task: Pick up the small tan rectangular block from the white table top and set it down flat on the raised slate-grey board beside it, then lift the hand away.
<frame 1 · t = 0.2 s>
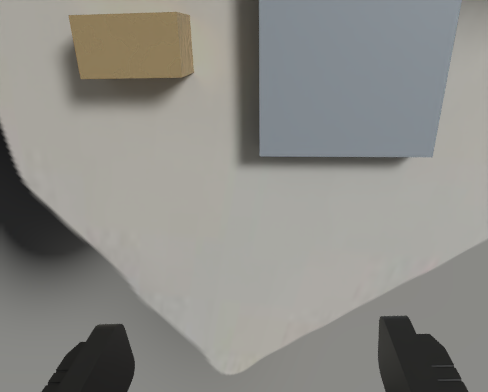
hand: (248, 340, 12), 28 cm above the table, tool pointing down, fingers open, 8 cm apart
tan rectangular block: (145, 45, 35), on the table
slate board: (346, 64, 34), on the table
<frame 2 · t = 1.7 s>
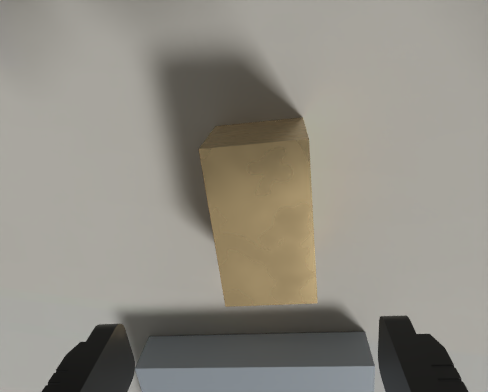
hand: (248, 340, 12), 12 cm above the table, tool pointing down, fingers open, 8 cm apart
tan rectangular block: (266, 193, 23), on the table
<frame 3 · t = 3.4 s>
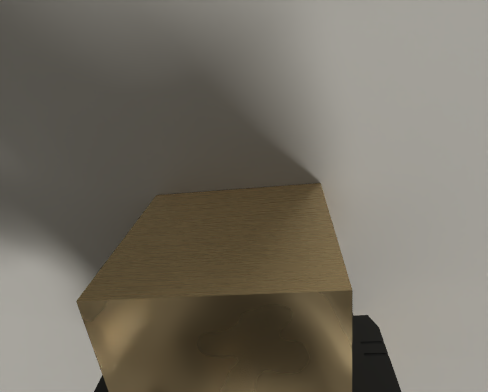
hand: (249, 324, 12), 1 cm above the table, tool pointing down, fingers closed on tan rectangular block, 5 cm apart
tan rectangular block: (251, 308, 13), on the table, touching gripper
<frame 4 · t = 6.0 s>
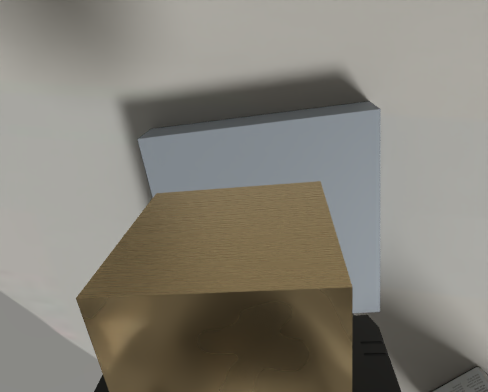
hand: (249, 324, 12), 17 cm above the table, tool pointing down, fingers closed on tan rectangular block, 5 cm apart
tan rectangular block: (251, 306, 13), point 17 cm above the table, touching gripper
slate board: (268, 213, 30), on the table
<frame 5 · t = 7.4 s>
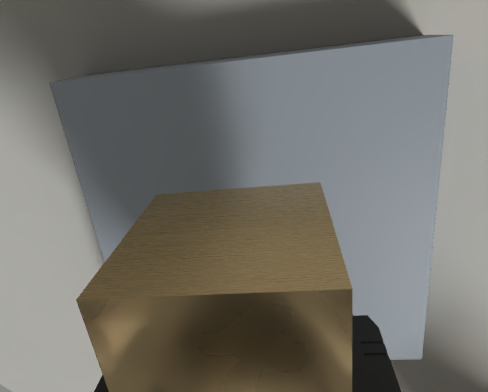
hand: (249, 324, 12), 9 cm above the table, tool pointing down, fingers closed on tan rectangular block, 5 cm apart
tan rectangular block: (251, 307, 13), point 8 cm above the table, touching gripper
slate board: (260, 210, 20), on the table
when the fingers open (5 cm above the table, at t = 8.6 s): tan rectangular block drops 1 cm, resting on slate board.
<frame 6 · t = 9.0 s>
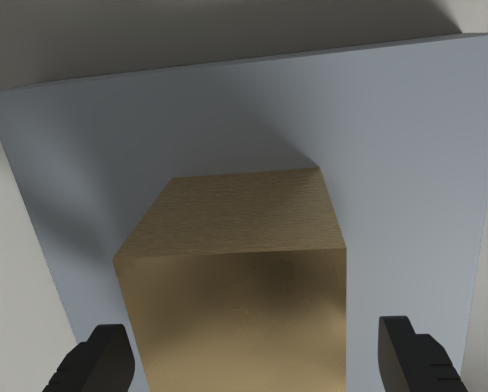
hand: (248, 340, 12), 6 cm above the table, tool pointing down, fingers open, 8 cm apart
tan rectangular block: (256, 283, 14), point 3 cm above the table, touching slate board
slate board: (257, 244, 17), on the table
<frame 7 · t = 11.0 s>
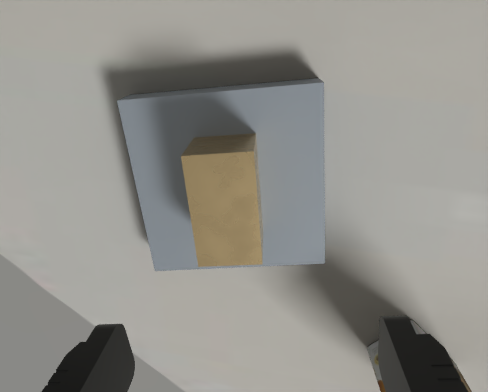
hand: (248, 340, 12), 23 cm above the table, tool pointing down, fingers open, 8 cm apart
tan rectangular block: (230, 187, 31), point 3 cm above the table, touching slate board
slate board: (232, 175, 34), on the table
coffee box: (411, 355, 42), on the table
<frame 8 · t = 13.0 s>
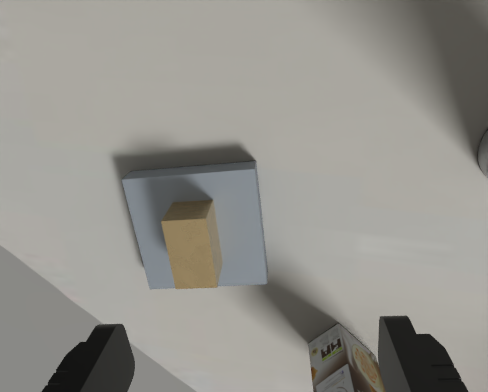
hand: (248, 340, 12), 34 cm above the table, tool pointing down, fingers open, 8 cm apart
tan rectangular block: (198, 233, 46), point 3 cm above the table, touching slate board
slate board: (202, 223, 49), on the table
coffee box: (342, 349, 56), on the table
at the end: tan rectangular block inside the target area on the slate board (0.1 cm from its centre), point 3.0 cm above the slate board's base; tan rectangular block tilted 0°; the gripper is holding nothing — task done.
